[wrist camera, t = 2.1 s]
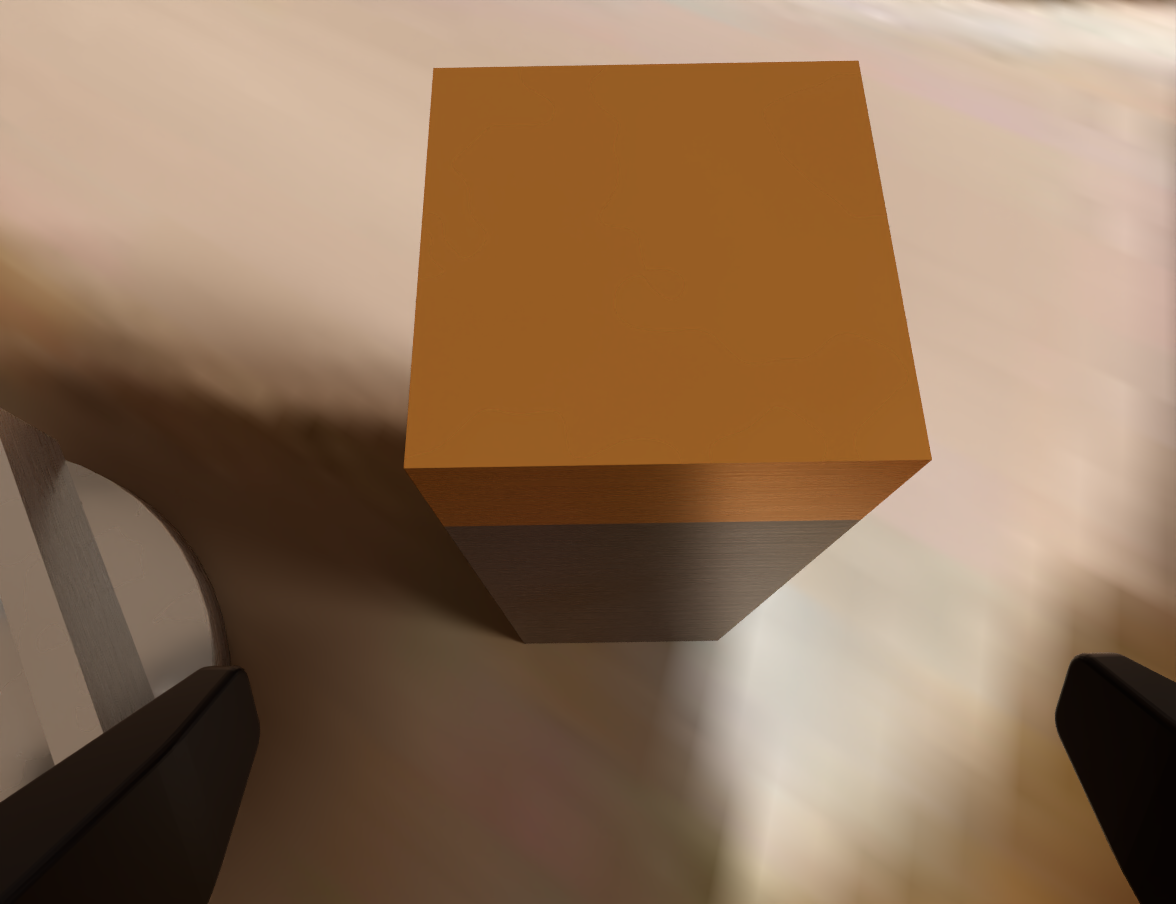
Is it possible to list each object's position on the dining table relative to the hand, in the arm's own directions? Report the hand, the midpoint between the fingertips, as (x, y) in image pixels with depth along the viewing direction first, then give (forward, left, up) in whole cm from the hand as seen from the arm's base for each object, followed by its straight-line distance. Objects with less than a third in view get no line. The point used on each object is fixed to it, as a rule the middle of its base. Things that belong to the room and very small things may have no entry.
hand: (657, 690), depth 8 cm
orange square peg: (+3, +2, -11) cm, 12 cm away
